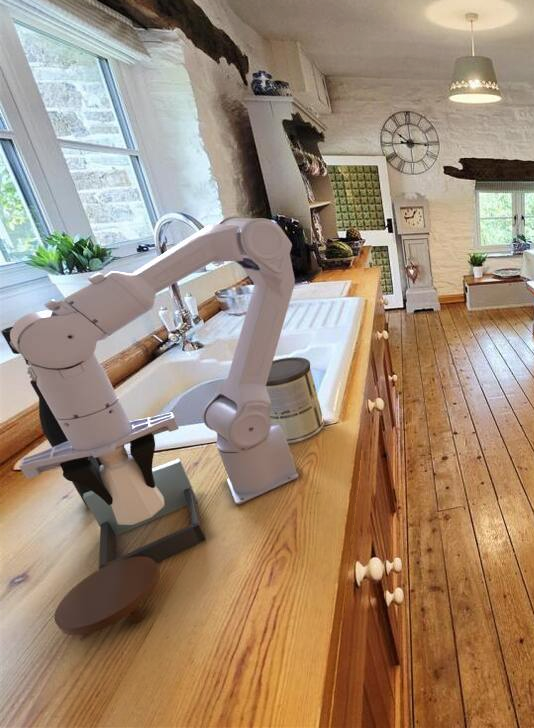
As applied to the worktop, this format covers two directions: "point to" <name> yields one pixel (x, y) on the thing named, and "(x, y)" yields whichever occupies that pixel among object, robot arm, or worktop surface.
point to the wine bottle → (47, 417)
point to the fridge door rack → (175, 495)
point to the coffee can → (294, 399)
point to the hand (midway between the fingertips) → (132, 492)
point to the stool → (108, 596)
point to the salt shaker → (128, 488)
